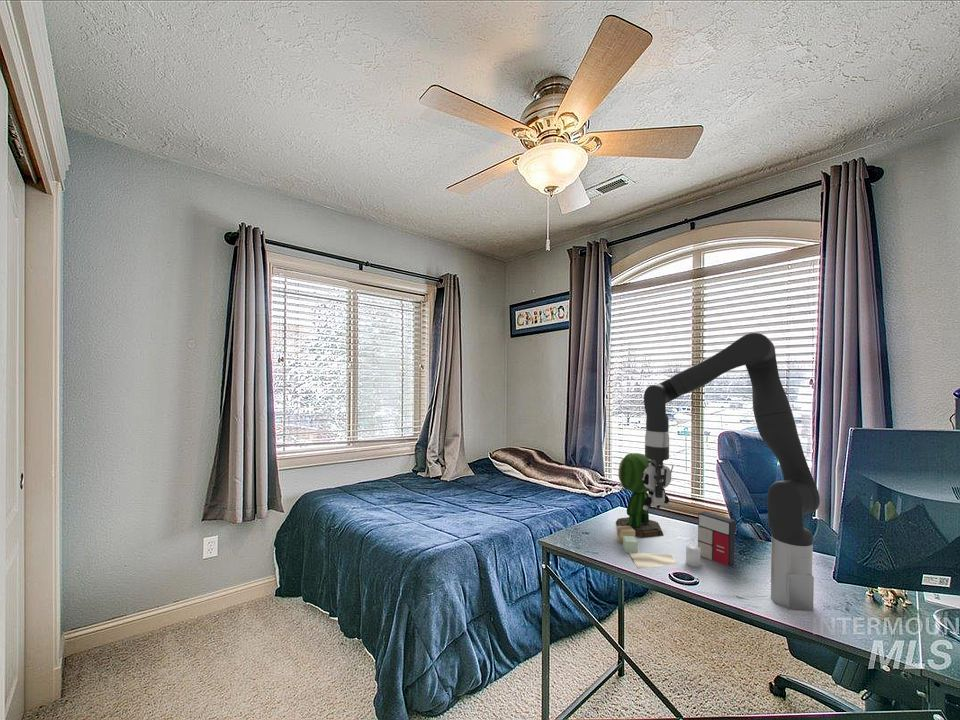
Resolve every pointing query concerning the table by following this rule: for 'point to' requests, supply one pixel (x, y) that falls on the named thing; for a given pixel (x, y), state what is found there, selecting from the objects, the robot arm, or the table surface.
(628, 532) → the oak cube
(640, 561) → the birch pad
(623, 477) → the figurine
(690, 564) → the white upright block
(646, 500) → the robot toy
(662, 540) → the table surface
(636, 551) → the sage brick
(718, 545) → the grey red panel box
